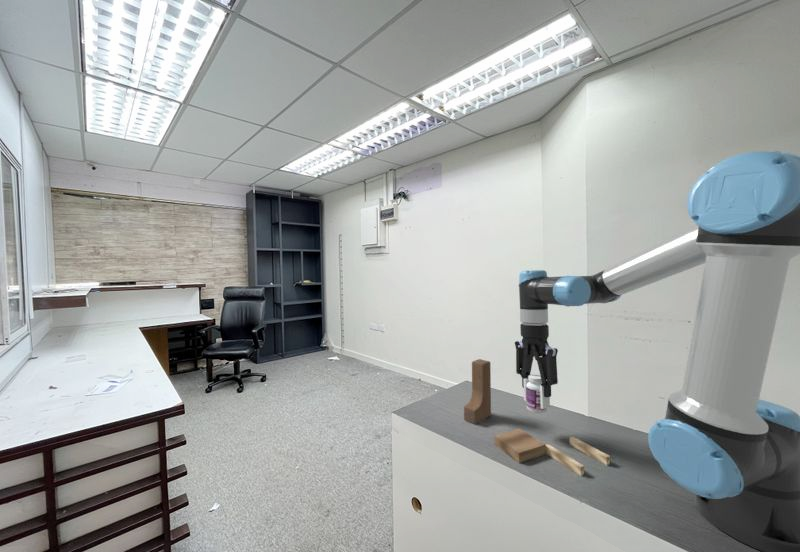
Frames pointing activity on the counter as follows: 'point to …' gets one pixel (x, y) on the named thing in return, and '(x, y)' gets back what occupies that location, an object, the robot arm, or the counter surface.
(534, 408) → the pill bottle
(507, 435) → the pedestal
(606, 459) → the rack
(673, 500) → the counter surface
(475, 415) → the wooden block
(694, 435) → the robot arm
